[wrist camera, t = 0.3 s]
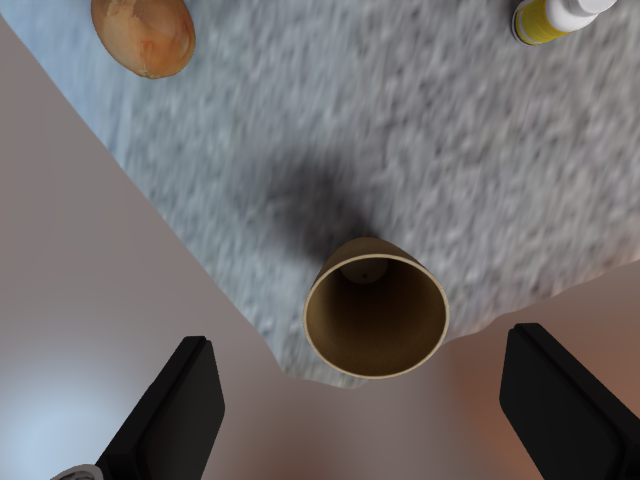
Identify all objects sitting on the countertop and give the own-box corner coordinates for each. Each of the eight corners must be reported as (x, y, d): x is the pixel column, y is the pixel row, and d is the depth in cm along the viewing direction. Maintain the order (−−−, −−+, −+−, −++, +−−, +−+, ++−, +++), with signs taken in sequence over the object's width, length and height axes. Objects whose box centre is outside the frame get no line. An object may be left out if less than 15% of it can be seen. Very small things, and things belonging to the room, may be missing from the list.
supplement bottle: (536, 56, 39) (600, 34, 30) (500, 31, 38) (554, 1, 29) (569, 9, 37) (647, -30, 28) (531, -18, 37) (599, -66, 27)
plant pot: (340, 194, 45) (345, 228, 30) (432, 240, 47) (479, 294, 32) (295, 280, 50) (279, 347, 35) (380, 319, 52) (400, 399, 36)
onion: (140, 88, 42) (84, 76, 32) (118, -5, 38) (48, -47, 29) (214, 80, 41) (179, 66, 32) (198, -15, 38) (153, -61, 28)
